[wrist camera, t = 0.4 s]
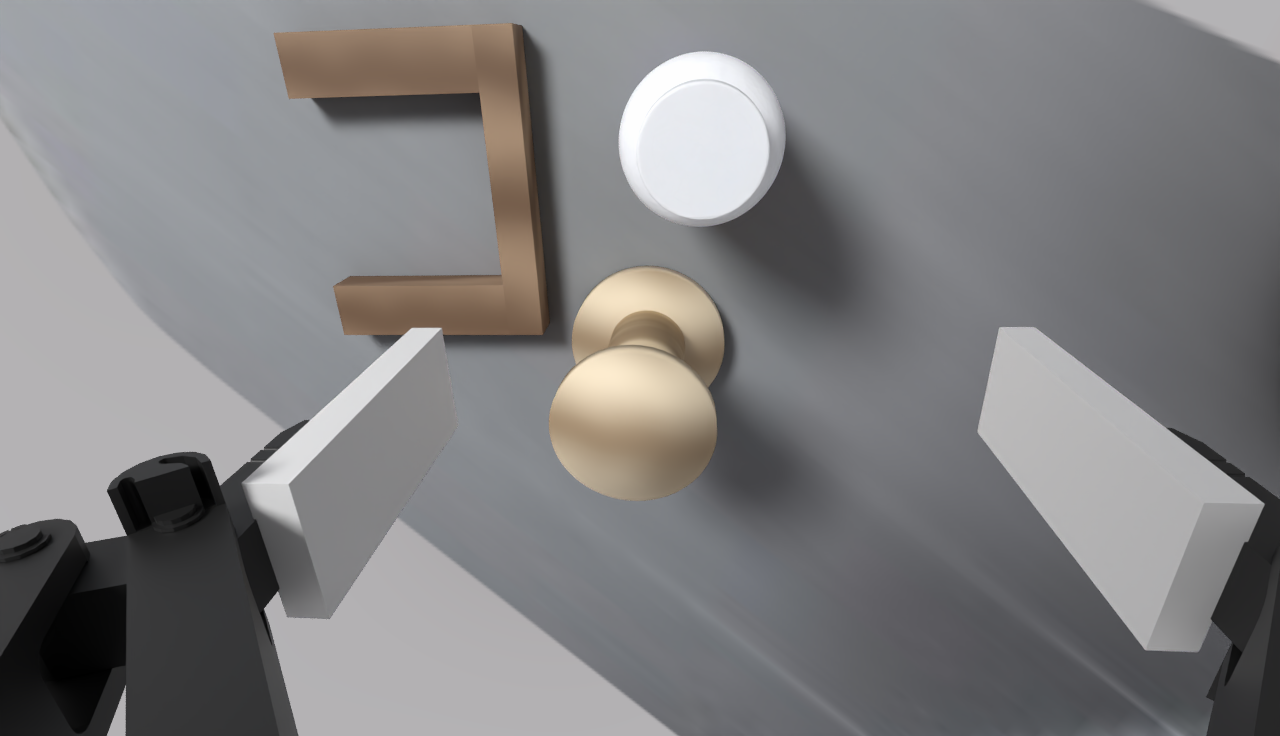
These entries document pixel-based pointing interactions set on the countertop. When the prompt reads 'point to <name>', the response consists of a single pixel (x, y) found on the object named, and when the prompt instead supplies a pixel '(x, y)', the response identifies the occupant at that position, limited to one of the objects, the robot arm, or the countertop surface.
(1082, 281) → the countertop surface
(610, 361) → the bobbin
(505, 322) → the notch board
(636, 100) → the supplement bottle
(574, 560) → the countertop surface
